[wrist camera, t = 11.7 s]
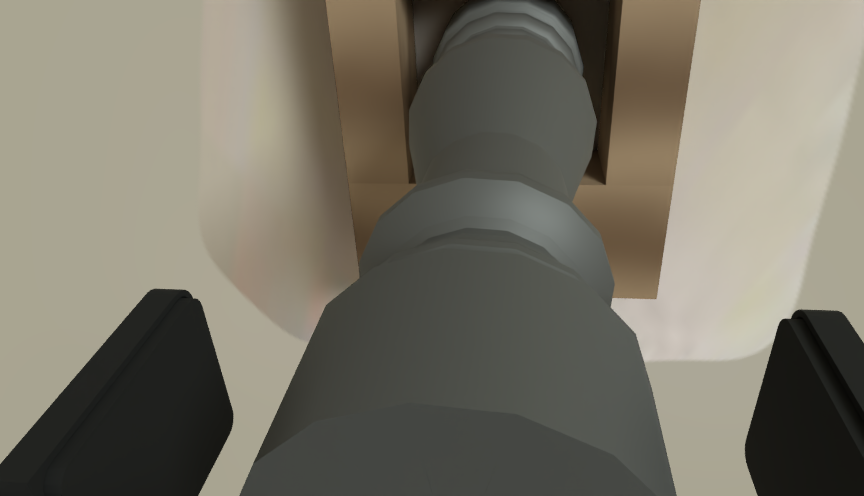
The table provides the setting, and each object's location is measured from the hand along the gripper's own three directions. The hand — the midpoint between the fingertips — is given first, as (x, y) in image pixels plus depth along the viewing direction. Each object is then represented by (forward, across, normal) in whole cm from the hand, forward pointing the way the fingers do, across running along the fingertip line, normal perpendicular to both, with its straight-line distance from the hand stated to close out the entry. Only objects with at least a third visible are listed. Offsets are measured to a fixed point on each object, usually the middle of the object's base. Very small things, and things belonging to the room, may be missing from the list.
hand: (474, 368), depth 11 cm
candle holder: (+22, 0, +1) cm, 22 cm away
